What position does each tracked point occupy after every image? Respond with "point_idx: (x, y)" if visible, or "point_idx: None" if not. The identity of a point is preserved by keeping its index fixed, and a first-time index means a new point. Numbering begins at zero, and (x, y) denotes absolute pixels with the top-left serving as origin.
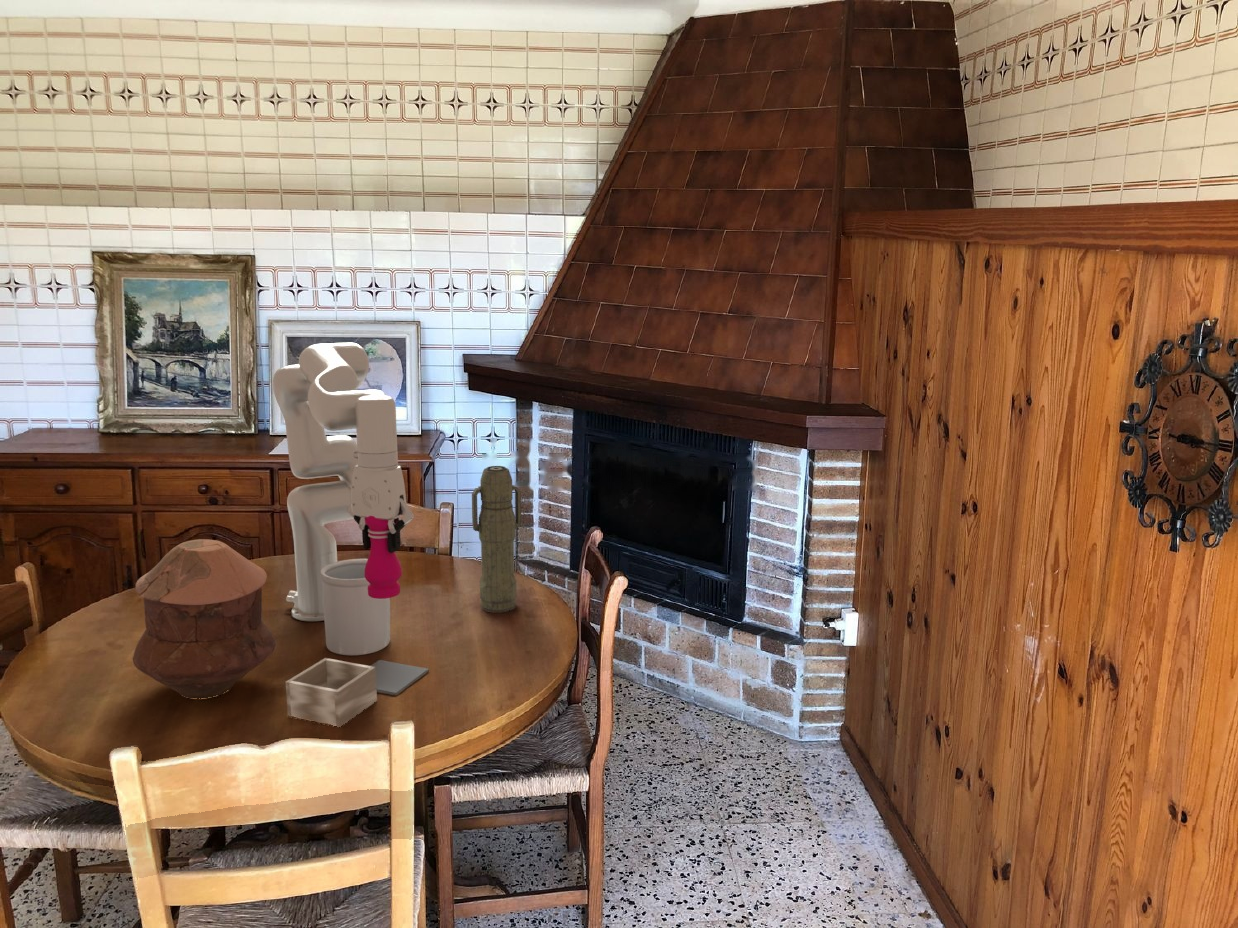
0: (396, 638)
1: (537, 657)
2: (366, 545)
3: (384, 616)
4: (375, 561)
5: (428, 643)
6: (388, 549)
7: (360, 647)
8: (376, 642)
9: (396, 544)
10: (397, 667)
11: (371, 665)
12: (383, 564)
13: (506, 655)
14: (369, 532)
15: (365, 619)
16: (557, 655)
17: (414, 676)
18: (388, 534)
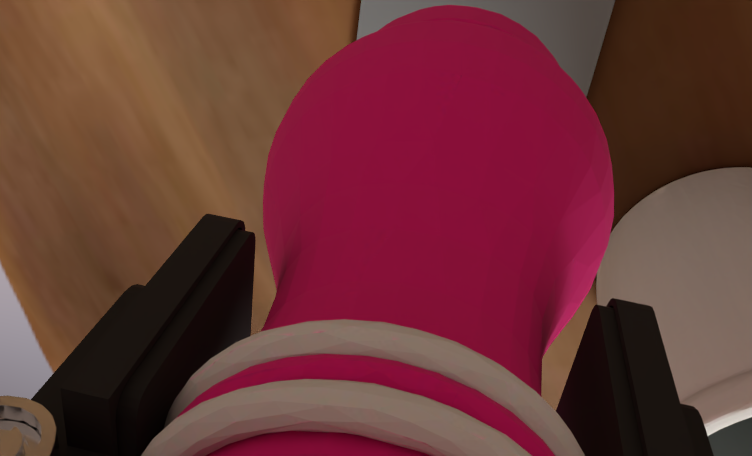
0: (584, 330)
1: (66, 250)
2: (605, 329)
3: None
4: (433, 134)
5: None
6: (236, 245)
7: (682, 192)
8: (624, 236)
9: (115, 311)
10: None
11: (589, 77)
12: (337, 120)
13: (160, 251)
14: (508, 436)
15: (680, 266)
16: (21, 271)
17: (373, 13)
18: (103, 383)
